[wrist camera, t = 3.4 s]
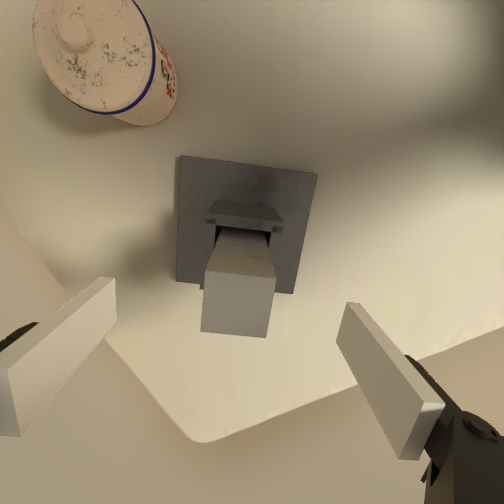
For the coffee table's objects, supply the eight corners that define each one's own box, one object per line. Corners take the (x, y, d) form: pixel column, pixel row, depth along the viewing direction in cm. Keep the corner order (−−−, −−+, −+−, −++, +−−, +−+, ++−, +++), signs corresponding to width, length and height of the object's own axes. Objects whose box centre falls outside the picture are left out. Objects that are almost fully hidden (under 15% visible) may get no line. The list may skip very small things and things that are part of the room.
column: (227, 213, 31) (205, 270, 14) (259, 217, 31) (276, 278, 14) (224, 250, 33) (199, 342, 15) (254, 254, 33) (264, 348, 16)
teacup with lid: (196, 103, 29) (165, 63, 18) (130, 143, 30) (62, 130, 19) (133, -19, 25) (43, -165, 14) (61, 32, 26) (-74, -65, 15)
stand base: (184, 155, 30) (153, 149, 20) (314, 173, 31) (345, 177, 21) (178, 276, 35) (152, 319, 25) (290, 289, 36) (307, 335, 26)
